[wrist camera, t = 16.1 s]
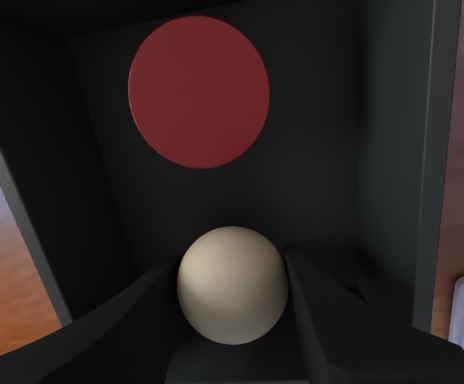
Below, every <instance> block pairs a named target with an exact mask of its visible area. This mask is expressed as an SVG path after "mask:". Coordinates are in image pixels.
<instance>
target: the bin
mask: <svg viewBox="0 0 464 384" xmlns="http://www.w3.org/2000/svg"><path fill="white" fill-rule="evenodd" d="M461 4H462V0H0V187H1V189H2V191H3V194H4V196H5V198H6V200H7V203H8V205H9V207H10V210H11V212H12V214H13V216H14V219H15V221H16V223H17V226H18V228H19V230H20V232H21V235H22V237H23V239H24V241H25V244H26V246H27V248H28V251H29V253H30V255H31V257H32V260H33V262H34V264H35V267H36V269H37V271H38V273H39V276H40V278H41V280H42V282H43V285H44V287H45V289H46V292H47V294H48V296H49V298H50V301H51V303H52V305H53V308H54V310H55V312H56V314H57V317H58V319H59V321H60V323H61V326H62V328H63V327H65V326H67V325H68V324H70V323H72V322H74V321H76V320H78V319H79V318H81V317H83V316H85V315H87V314H88V313H90V312H92V311H93V310H95V309H96V308H98V307H100V306H101V305H103V304H104V303H106V302H107V301H109V300H110V299H112V298H113V297H115V296H116V295H117V294H119V293H120V292H122V291H123V290H124V289H126V288H127V287H128V286H130V285H131V284H132V283H134V282H135V281H136V280H138V279H139V278H140V277H141V276H143V275H144V274H145V273H146V272H148V271H149V270H150V269H151V268H153V267H154V266H155V265H156V264H158V263H159V262H160V261H162V260H163V259H164V258H166V257H167V256H175V255H181V256H182V259H183V257H184V255H185V254H186V252H187V251H188V249H189V248H190V247H191V245H192V244H193V243H194V242H195V241H196V240H197V239H199V238H200V237H201V236H203V235H204V234H206V233H208V232H210V231H212V230H214V229H217V228H221V227H228V226H237V227H244V228H248V229H251V230H254V231H256V232H258V233H260V234H261V235H263V236H264V237H266V238H267V239H268V240H269V241H270V242H271V243H272V244H273V245H274V246H275V247H276V249H277V250H278V251H279V253H280V255H281V257H282V258H283V260H284V253H283V245H294V244H298V245H299V246H300V247H301V248H302V249H303V250H304V252H305V253H306V254H307V255H308V256H309V257H310V258H311V259H312V260H313V261H314V262H315V263H316V264H317V265H318V266H319V267H320V268H321V269H322V270H323V271H324V272H325V273H326V274H327V275H328V276H330V277H331V278H332V279H333V280H334V281H336V282H337V283H338V284H339V285H341V286H342V287H343V288H345V289H346V290H347V291H349V292H350V293H352V294H353V295H355V296H356V297H358V298H359V299H361V300H363V301H364V302H366V303H368V304H369V305H371V306H373V307H375V308H376V309H378V310H380V311H382V312H384V313H385V314H387V315H389V316H391V317H393V318H395V319H397V320H400V321H402V322H404V323H406V324H408V325H410V326H412V327H415V328H417V329H419V330H422V331H424V332H427V333H429V334H430V329H431V319H432V308H433V298H434V287H435V277H436V266H437V256H438V245H439V235H440V224H441V214H442V203H443V193H444V182H445V172H446V161H447V151H448V140H449V130H450V119H451V109H452V98H453V88H454V77H455V67H456V57H457V46H458V36H459V25H460V15H461ZM190 15H204V16H210V17H215V18H217V19H220V20H223V21H225V22H227V23H229V24H231V25H233V26H234V27H236V28H237V29H239V30H240V31H241V32H242V33H243V34H244V35H246V36H247V37H248V38H249V39H250V41H251V42H252V43H253V44H254V46H255V47H256V48H257V50H258V52H259V53H260V55H261V57H262V59H263V61H264V64H265V66H266V69H267V73H268V76H269V82H270V94H271V98H270V108H269V113H268V117H267V120H266V123H265V126H264V128H263V130H262V132H261V134H260V135H259V137H258V138H257V140H256V141H255V143H254V144H253V145H252V146H251V147H250V148H249V149H248V150H247V151H246V152H245V153H244V154H243V155H241V156H240V157H238V158H237V159H235V160H233V161H231V162H229V163H227V164H225V165H222V166H218V167H213V168H204V169H200V168H191V167H185V166H182V165H179V164H176V163H174V162H172V161H170V160H168V159H167V158H165V157H163V156H162V155H160V154H159V153H158V152H157V151H156V150H154V149H153V148H152V147H151V146H150V145H149V144H148V142H147V141H146V140H145V138H144V137H143V136H142V134H141V133H140V131H139V129H138V128H137V125H136V123H135V121H134V119H133V116H132V113H131V109H130V104H129V98H128V80H129V74H130V69H131V66H132V62H133V60H134V57H135V55H136V53H137V51H138V49H139V48H140V46H141V45H142V43H143V42H144V41H145V39H146V38H147V37H148V36H149V35H150V34H151V33H152V32H153V31H154V30H155V29H157V28H158V27H160V26H161V25H163V24H164V23H166V22H168V21H171V20H173V19H176V18H179V17H183V16H190ZM164 384H309V379H308V373H307V369H306V365H305V361H304V357H303V353H302V349H301V346H300V342H299V338H298V335H297V331H296V327H295V324H294V320H293V316H292V312H291V309H290V302H289V296H288V298H287V302H286V305H285V308H284V310H283V312H282V315H281V316H280V318H279V319H278V321H277V322H276V324H275V325H274V326H273V327H272V328H271V329H270V330H269V331H268V332H267V333H265V334H264V335H263V336H261V337H259V338H257V339H255V340H253V341H251V342H248V343H243V344H223V343H218V342H215V341H212V340H210V339H208V338H206V337H204V336H203V335H202V334H200V333H199V332H198V331H197V330H196V329H195V328H193V326H192V325H191V324H190V323H189V322H188V320H187V319H186V318H185V321H184V324H183V327H182V330H181V333H180V336H179V339H178V341H177V344H176V347H175V350H174V353H173V356H172V359H171V362H170V365H169V368H168V371H167V375H166V378H165V382H164Z"/></svg>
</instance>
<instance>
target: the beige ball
mask: <svg viewBox="0 0 464 384" xmlns="http://www.w3.org/2000/svg"><path fill="white" fill-rule="evenodd" d="M288 290H289V285H288V277H287V271H286V266H285V263H284V260H283V258H282V257H281V255H280V253H279V251H278V250H277V249H276V247H275V246H274V245H273V244H272V243H271V242H270V241H269V240H268V239H267V238H266V237H264V236H263V235H261V234H260V233H258V232H256V231H254V230H251V229H248V228H244V227H237V226H228V227H221V228H217V229H214V230H212V231H210V232H208V233H206V234H204V235H203V236H201V237H200V238H199V239H197V240H196V241H195V242H194V243H193V244H192V245H191V247H190V248H189V249H188V251H187V252H186V254H185V255H184V257H183V259H182V262H181V264H180V267H179V271H178V277H177V295H178V300H179V303H180V306H181V309H182V311H183V313H184V315H185V317H186V319H187V320H188V322H189V323H190V324H191V325H192V326H193V328H195V329H196V330H197V331H198V332H199V333H200V334H202V335H203V336H204V337H206V338H208V339H210V340H212V341H215V342H218V343H223V344H243V343H248V342H251V341H253V340H255V339H257V338H259V337H261V336H263V335H264V334H265V333H267V332H268V331H269V330H270V329H271V328H272V327H273V326H274V325H275V324H276V322H277V321H278V319H279V318H280V316H281V315H282V312H283V310H284V308H285V305H286V302H287V298H288Z"/></svg>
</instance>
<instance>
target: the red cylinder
mask: <svg viewBox="0 0 464 384" xmlns="http://www.w3.org/2000/svg"><path fill="white" fill-rule="evenodd" d="M128 98H129V104H130V109H131V113H132V116H133V119H134V121H135V123H136V125H137V128H138V129H139V131H140V133H141V134H142V136H143V137H144V138H145V140H146V141H147V142H148V144H149V145H150V146H151V147H152V148H153V149H154V150H156V151H157V152H158V153H159V154H160V155H162V156H163V157H165V158H167V159H168V160H170V161H172V162H174V163H176V164H179V165H182V166H185V167H191V168H200V169H204V168H213V167H218V166H222V165H225V164H227V163H229V162H231V161H233V160H235V159H237V158H238V157H240V156H241V155H243V154H244V153H245V152H246V151H247V150H248V149H249V148H250V147H251V146H252V145H253V144H254V143H255V141H256V140H257V138H258V137H259V135H260V134H261V132H262V130H263V128H264V126H265V123H266V120H267V117H268V113H269V108H270V98H271V94H270V82H269V76H268V73H267V69H266V66H265V64H264V61H263V59H262V57H261V55H260V53H259V52H258V50H257V48H256V47H255V46H254V44H253V43H252V42H251V41H250V39H249V38H248V37H247V36H246V35H244V34H243V33H242V32H241V31H240V30H239V29H237V28H236V27H234V26H233V25H231V24H229V23H227V22H225V21H223V20H220V19H217V18H215V17H210V16H204V15H190V16H183V17H179V18H176V19H173V20H171V21H168V22H166V23H164V24H163V25H161V26H160V27H158V28H157V29H155V30H154V31H153V32H152V33H151V34H150V35H149V36H148V37H147V38H146V39H145V41H144V42H143V43H142V45H141V46H140V48H139V49H138V51H137V53H136V55H135V57H134V60H133V62H132V66H131V69H130V74H129V80H128Z"/></svg>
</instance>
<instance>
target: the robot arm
mask: <svg viewBox="0 0 464 384" xmlns="http://www.w3.org/2000/svg"><path fill="white" fill-rule="evenodd" d="M283 253H284V263H285V266H286V271H287V277H288V285H289V290H288V296H289V302H290V309H291V312H292V316H293V320H294V324H295V327H296V331H297V335H298V338H299V342H300V346H301V349H302V353H303V357H304V361H305V365H306V369H307V373H308V379H309V384H464V276H463V277H461V278H459V279H458V280H457V281H456V283H455V289H454V297H453V305H452V313H451V321H450V329H449V338H448V341H447V340H445V339H442V338H440V337H437V336H434V335H432V334H429V333H427V332H424V331H422V330H419V329H417V328H415V327H412V326H410V325H408V324H406V323H404V322H402V321H400V320H397V319H395V318H393V317H391V316H389V315H387V314H385V313H384V312H382V311H380V310H378V309H376V308H375V307H373V306H371V305H369V304H368V303H366V302H364V301H363V300H361V299H359V298H358V297H356V296H355V295H353V294H352V293H350V292H349V291H347V290H346V289H345V288H343V287H342V286H341V285H339V284H338V283H337V282H336V281H334V280H333V279H332V278H331V277H330V276H328V275H327V274H326V273H325V272H324V271H323V270H322V269H321V268H320V267H319V266H318V265H317V264H316V263H315V262H314V261H313V260H312V259H311V258H310V257H309V256H308V255H307V254H306V253H305V252H304V250H303V249H302V248H301V247H300V246H299V245H298V244H294V245H283ZM181 262H182V256H181V255H175V256H167V257H166V258H164V259H163V260H162V261H160V262H159V263H158V264H156V265H155V266H154V267H153V268H151V269H150V270H149V271H148V272H146V273H145V274H144V275H143V276H141V277H140V278H139V279H138V280H136V281H135V282H134V283H132V284H131V285H130V286H128V287H127V288H126V289H124V290H123V291H122V292H120V293H119V294H117V295H116V296H115V297H113V298H112V299H110V300H109V301H107V302H106V303H104V304H103V305H101V306H100V307H98V308H96V309H95V310H93V311H92V312H90V313H88V314H87V315H85V316H83V317H81V318H79V319H78V320H76V321H74V322H72V323H70V324H68V325H67V326H65V327H63V328H61V329H59V330H57V331H55V332H53V333H51V334H49V335H47V336H45V337H43V338H41V339H38V340H36V341H34V342H32V343H30V344H27V345H25V346H23V347H20V348H18V349H16V350H13V351H11V352H8V353H6V354H3V355H1V356H0V384H164V382H165V378H166V375H167V371H168V368H169V365H170V362H171V359H172V356H173V353H174V350H175V347H176V344H177V341H178V339H179V336H180V333H181V330H182V327H183V324H184V321H185V318H186V317H185V315H184V313H183V311H182V309H181V306H180V303H179V300H178V295H177V277H178V271H179V267H180V264H181Z"/></svg>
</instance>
